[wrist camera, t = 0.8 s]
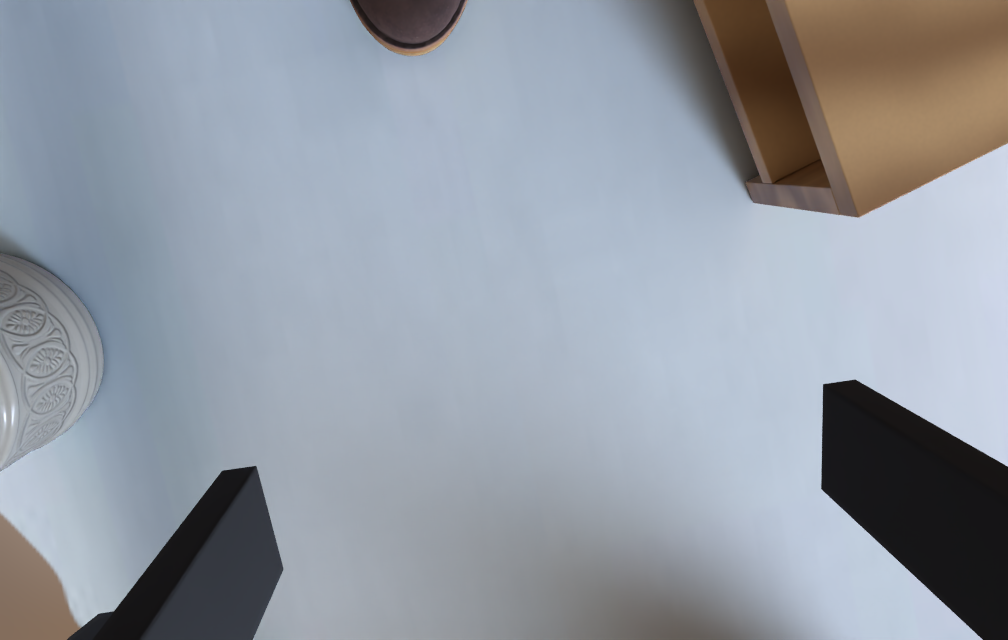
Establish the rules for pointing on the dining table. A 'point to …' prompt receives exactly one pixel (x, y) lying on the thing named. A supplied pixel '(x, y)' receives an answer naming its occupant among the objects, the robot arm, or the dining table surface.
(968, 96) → the shoe rack
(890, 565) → the dining table surface
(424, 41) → the boot
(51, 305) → the jar
